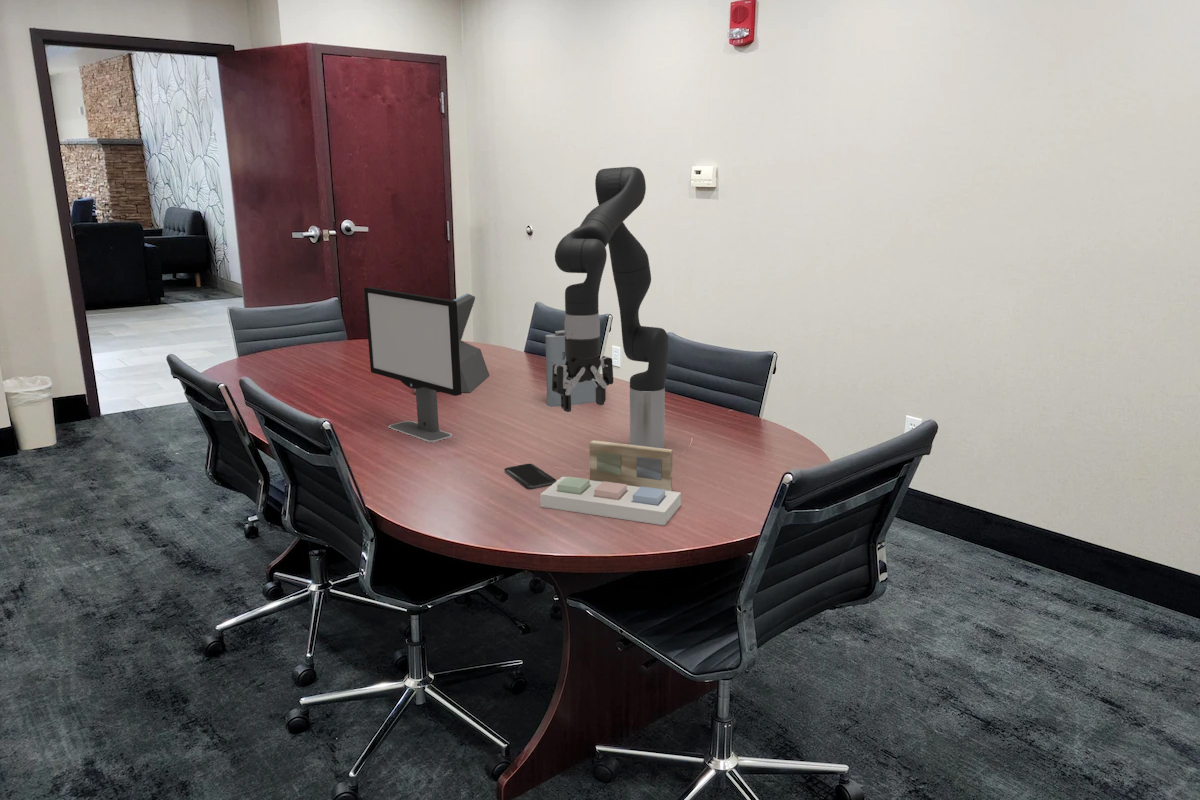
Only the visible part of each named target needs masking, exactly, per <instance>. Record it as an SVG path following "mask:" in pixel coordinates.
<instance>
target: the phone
mask: <svg viewBox="0 0 1200 800" xmlns="http://www.w3.org/2000/svg"><path fill="white" fill-rule="evenodd" d="M503 472H504V473H505V474H506V475H508V476H509V477H510V478H511V479H513V480H514V481H516V482H517V483H518V484H520V486H522V487H524V489H526V490H535V489H536V490H537V489H540V488H545V487H550V486H551V485H552V484H554V483H555V482H556V481H557V479H556V478H554V477H552V476H551V475H550V474H548V473H546V472H545V471H544V470H542V469H540V468H539V467H537V466H536V465H535V464H533V463H525V464H520V465H519V464H518V465H513V466H508V467H506V468H504V471H503Z"/></svg>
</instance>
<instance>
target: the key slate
mask: <svg viewBox="0 0 1200 800" xmlns="http://www.w3.org/2000/svg"><path fill="white" fill-rule="evenodd" d="M664 498H665V490H664V489H657V488H649V487H642V486H641V487H640V488H639V489H638V490H637V491H636V492H635V493H634V494H633V502H635V503H642V504H649V505H656V506H659V504H660V503H661V502H662V501H663V500H664Z"/></svg>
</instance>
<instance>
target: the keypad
mask: <svg viewBox="0 0 1200 800" xmlns="http://www.w3.org/2000/svg"><path fill="white" fill-rule="evenodd" d="M566 477H567V476H561V477H560V478H559V479H556V482H555V483H554V484H552V485H551V486H548V487H547V488H546V489H545V490H543V492H541V493H540V494H539V495H540V496H539V497H540V507H541V508H546V509H551V510H552V509H553V510H559V511H565V512H566V511H567V512H573V513H580V514H587V515H592V516H593V515H594V516H600V517H606V518H613V519H618V520H619V519H620V520H625V521H626V520H627V521H632V522H638V523H640V522H641V523H646V524H653V525H657V526H666V524H667V523H668V522H669V521H670V520H671V518H672V517H673V516H674V514H675V513H676V512H677V511H678V510H679V508H681V505H682V492H678V491H673V490H672V491H666V490H665V498H664V500H663V501H662V502H661V503H660V504H659V506H656V505H649V504H642V503H635V502H633V494H634V493H635V492H636V491H637V490H638V489H639V488H640V487H636V486H629V485H627V492H626V494H625V495H624V496H623V497H622V498H621V499H620V500H614V499H607V498H600V497H594V490H595V489H596V488H597V487H598V486H599V485H600V484H601V483H602V482H600V481H592V480H590V487H589V488H588V489H587V490H586V491H585V492H583V493H582V494H581V495H579V494H572V493H565V492H558V491H557V484H559V483H560V482H561V481H562V480H563V479H565V478H566Z"/></svg>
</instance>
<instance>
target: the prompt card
mask: <svg viewBox="0 0 1200 800" xmlns="http://www.w3.org/2000/svg"><path fill="white" fill-rule="evenodd" d="M588 447H589V479H590V480H592V481H600V482H603V481H605V482H613V483H620V484H627V485H629V486H636V487H641V486H642V487H649V488H657V489H664V490H666V491H673V460H674V459H673V451H674V450H673V449H669V448H664V449H663V448H654V447H646V446H637V445H630V444H629V443H628V444H626V443H619V442H611V441H610V442H609V441H602V440H591V441H589V446H588Z"/></svg>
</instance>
